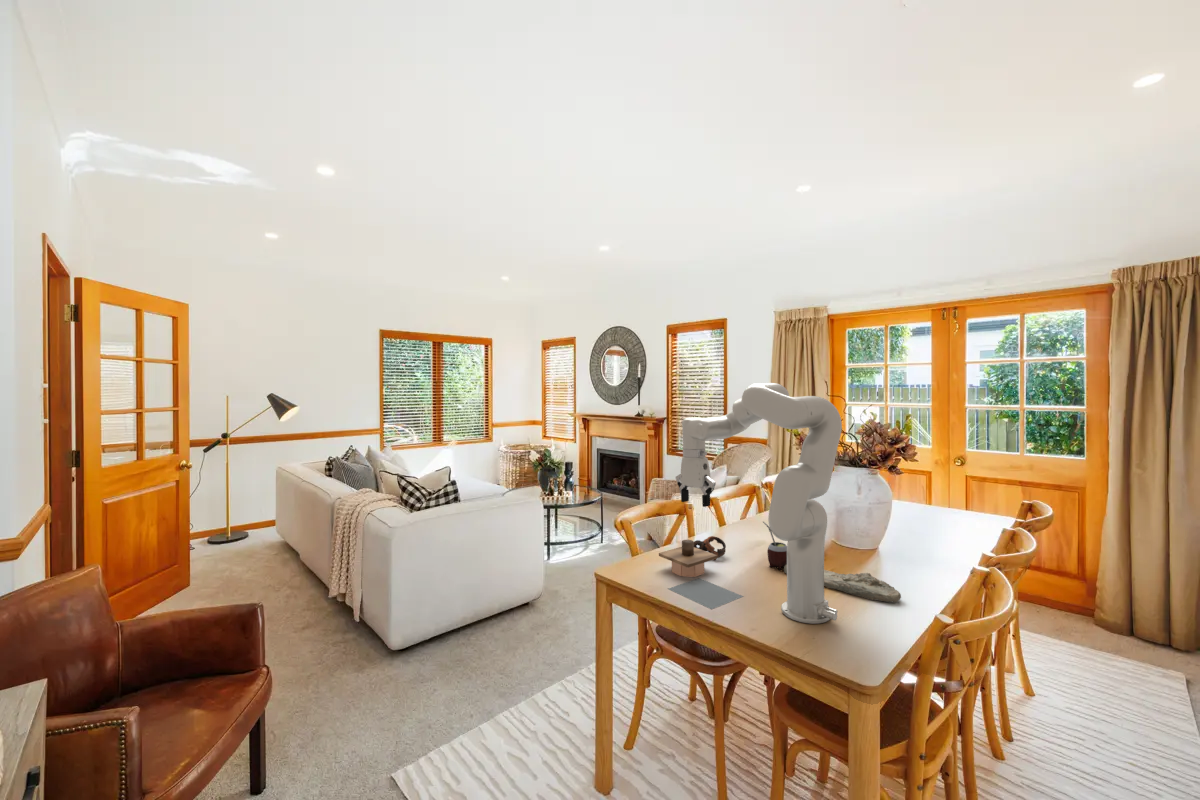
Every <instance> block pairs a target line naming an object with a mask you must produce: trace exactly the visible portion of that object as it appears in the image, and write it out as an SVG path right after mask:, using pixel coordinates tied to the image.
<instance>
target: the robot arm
mask: <svg viewBox="0 0 1200 800" xmlns="http://www.w3.org/2000/svg"><path fill="white" fill-rule="evenodd" d="M731 407H732V409H731V410H732V411H731V412H729V413H727V414H725V415H722V416H710V417H694V416H693V417H692V416H691V417H685V418H683V419H682V422H681V427H682V431H681V433H682V457H681V462H680V463H681V464H680V474H677V475H676V476H675V480H676V484H677V486H678V487H679V488H678V489H679V491H680V501H681V503H685V502H689V501H690V496H689V495H690V494H689V493H690V492H689V491H690V490H689V489H688V488H694V489H700V491H701V492H702V493H703V494H702V495H701V499H702V500H701V501H702V503H701V504H702V507H703V508H706V507H710V506H711V495H712V494H713V492H714V490H715V487H716V485H717V483H716V481H715V480H714V479H712V478H711V477H712V476H711V469H710V464H709V460H708V457H706V456H707V454H708V452H707V451H706V442H710V441H716V440H725V439H728V438H731V437H733V436H735V435H738V434H740V433H742V432H744V431H746V430H747V429H749V427H750V426H751V425H753V424H756V423H757V422H759V421H762V420H765V421H767V422H768V423H771V424H773V425H775V426H777V427H780V428H783V429H788V430H797V429H798V430H799V429H807V428H808V429H809V430H808V433H807V435H806V437H805V438H804V440H803V442H802V446H801V450H800V456H799V458H798V462H797V463H796V464H794V465H793V464H792V465H789V466H786V467H784V468H783V469H781V471H779V472H778V474H777V476H776V478H775V481H774V484H773V489H772V494H771V500H770V504H769V505H770V506H769V509H768V510H769V511H768V517H767V518H768V519H767V520H768V526H769V527H770V529H771V532H772V535H773V536H775V537H776V538H777V539H779V540H781V541H784V542H787V544H786V546H787V574H786V594H787V595H786V598H787V599H786V600H787V601H784V602H783V603H781V606H780V607H781V609H780V610H781V612H782V614H783V615H785V617H787V618H788V619H790V620H792V621H796V622H799V623H805V624H813V625H815V624H816V625H817V624H823V623H824V624H825V623H826V622H829V621H830V620H832V621H835V622H836V621H837V619H838V609H835V608H832V607H830V605H829V600H827V599H825V587H824V570H825V541H826V540H825V539H826V533H827V528H828V515H827V511H826V509H825V507H824V505H822V504H821V503H820V502H819V501H817V500H815V499H817V498H819V497H822V496H824V495H826V494H827V492H828V491H829V488H830V485H831V481H832V480H831V479H832V477H833V470H834V466H835V461H836V456H837V451H838V448H839V444H840V439H841V435H842V429H843V428H842V427H843V425H842V418H841V415H840V413H839V410H838V408H837V407H836V406H835V405H834V404H833V403H832V402H831V401H829V400H828V399H826V398H824V397H821V396H815V395H804V396H790V394H789V391H788V389H787V388H786V387H785V386H783V385H782V384H779V383H778V382H777V383H776V382H758V383H757V382H755V383H752V384H750V385H748V386H747V387H746V388H745V390H744V391H743V392H742V395H741V397H740V398H738V399H736V400H735V401H734V402H733V404H732V406H731Z"/></svg>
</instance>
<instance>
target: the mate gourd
mask: <svg viewBox="0 0 1200 800" xmlns="http://www.w3.org/2000/svg"><path fill="white" fill-rule="evenodd" d="M762 523H763V524H764V525H765V526H766V527H767V529H768V532H770V536H771V539H772V542H771V543H770V544H769V545H768V546H767V560H768V564H769V565H768V567H778V568H779V569H778V568H777V569H778V571H780V570H782V571H783V568H781V567H784V566H785V565H786V564H787V544H785V543H784V542H779V541H775V539H774V534H773V533H772V531H771V529H770V527H769V524H767V523H766V522H765V521H762Z"/></svg>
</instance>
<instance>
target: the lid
mask: <svg viewBox="0 0 1200 800" xmlns="http://www.w3.org/2000/svg"><path fill="white" fill-rule="evenodd" d="M694 541H695V540H692V539H683V540H681V546H679V547H675V548H672V549H668V550H666V551H662V552H661V551H660V552H659V553H658V556H659V557H661V558H663V559H666V560H667V561H670V562H672V561H673V562H675V563H678V564H680V565H683V566H685V567H688V568H689V567H692V566H695V565H698V564H701V563H704V564H705V563H707V562H711V561H715V560H714V559H716V560H717V559H718V555H715V554H713V553H712V552H708V551H704V550H701V549H698V548H699V547H698V548H695V547H694Z"/></svg>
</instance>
